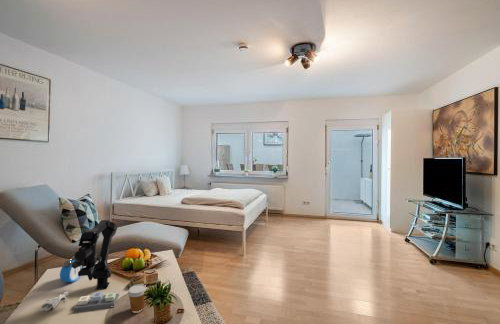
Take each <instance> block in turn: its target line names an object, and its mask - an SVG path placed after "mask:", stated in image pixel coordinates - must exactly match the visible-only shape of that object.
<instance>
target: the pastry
mask: <svg viewBox="0 0 500 324" xmlns="http://www.w3.org/2000/svg"><path fill="white" fill-rule="evenodd" d="M144 273H145V272H137V273H135V274H134V275H133V276H132V277H131V279H130V280H129V283H128V287H130V288H131V287H132V286H134V285H137V284H143V280H144ZM130 288H129V289H130Z"/></svg>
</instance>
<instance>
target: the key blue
mask: <svg viewBox="0 0 500 324" xmlns="http://www.w3.org/2000/svg"><path fill="white" fill-rule="evenodd" d="M103 295H104V291H100V292H98V291H97V292H94V293H93V294H92V295H91V297H92V301H98V300H101V299H102V297H103Z"/></svg>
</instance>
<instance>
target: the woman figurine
mask: <svg viewBox="0 0 500 324" xmlns="http://www.w3.org/2000/svg"><path fill="white" fill-rule="evenodd" d="M68 295H69V291H68V290H65V291H64V292H63V294H59V296H57V297H53V298H51V299H46V303H44V304H42V306H41V308H40V312H44V311H45V312H47V311H50V310H54V309H55V308H56V307H57V306H58V304H59V303H60V302H61V300H62V299H65V301H66V302H68V298H67V296H68Z"/></svg>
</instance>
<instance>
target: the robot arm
mask: <svg viewBox="0 0 500 324" xmlns="http://www.w3.org/2000/svg"><path fill="white" fill-rule="evenodd" d="M117 230H118V225H117V224H116V223H114V222H113V221H111V220H109V219H102V220H100V222H99V223H98V224H96V225H95V226H94V227H92V228H90V229H87V230H84V231H83V233H81V236H80V238H79V242H78V247H79V248H78V250H77V251H76V252H75V253H74V257H75V259H76V260H75V261H74V262H73V263H72V264H71V265H72V266H71V267H73V268H74V269H75V268H77V267H79V266H82V267H83V268H81V269H80V271H79V272H78V276H80V277H84V276H87V277H88V280H89V281H92V280H96V286H95V289H94V290H95V291H97V290H105V289H108V287H109V285H110V281H109V278H110V277H111V275H112V270H111V269H110V264H109V262H108V260H109V254H110V249H111V244H112V238H113V237H115V235H116V234H117V233H116V232H117ZM100 234H102V237H103V238H102V243H101V249H100V252H99V255H98V252H97V243H98V240H99V237H100ZM108 281H109V282H108Z"/></svg>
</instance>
